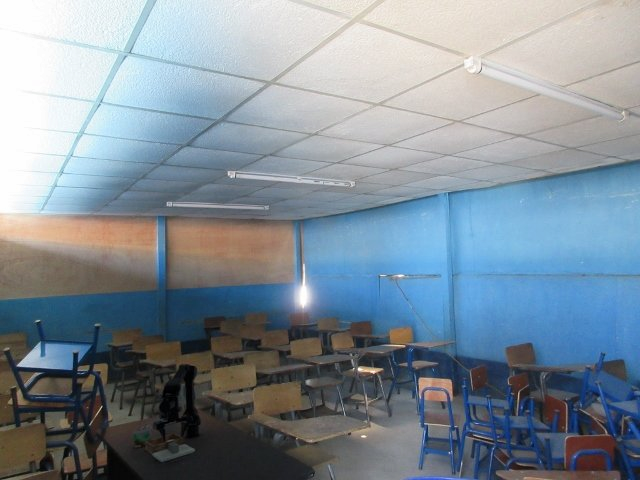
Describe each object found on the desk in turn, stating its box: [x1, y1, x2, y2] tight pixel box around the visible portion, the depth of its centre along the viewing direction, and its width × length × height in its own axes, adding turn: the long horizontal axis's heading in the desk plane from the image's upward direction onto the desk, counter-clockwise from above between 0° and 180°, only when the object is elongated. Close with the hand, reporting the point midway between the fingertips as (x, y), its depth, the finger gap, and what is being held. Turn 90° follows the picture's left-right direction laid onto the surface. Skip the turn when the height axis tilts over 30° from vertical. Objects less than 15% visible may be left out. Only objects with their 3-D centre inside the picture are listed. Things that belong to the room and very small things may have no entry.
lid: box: [152, 442, 196, 463], centre depth 219 cm, size 17×12×6 cm
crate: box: [144, 433, 184, 456], centre depth 228 cm, size 16×11×5 cm
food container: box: [132, 422, 153, 449], centre depth 236 cm, size 12×6×10 cm, turn 168°
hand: (173, 439), depth 219 cm, fingers open, 9 cm apart
